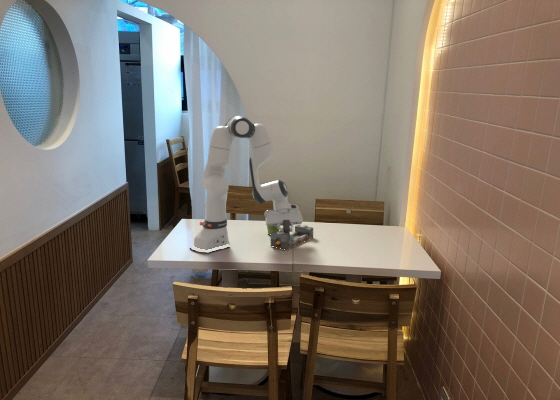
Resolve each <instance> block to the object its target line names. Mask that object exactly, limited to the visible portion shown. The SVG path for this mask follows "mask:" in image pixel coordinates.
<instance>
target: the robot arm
mask: <svg viewBox="0 0 560 400" xmlns="http://www.w3.org/2000/svg"><path fill="white" fill-rule="evenodd" d="M235 138H239V139H247V140H248V141H249V143H250V146H251V152H252V154H251V156H250V157H249V159H248V161H249V163H248V164H249V173H250V179H251V188H252V197H253V200H254V202H256V203H258V204H260V205H261V204H265V203H267V202H270V201H271V202H273V205H272V206H273V209H271V210H270V209H267V210H265V211H263V212H264V213H263V214H264V217H265V220H266V221H265V225H266V227H267V226H277V228H278V229H279V231H283V220H290V233H293V227H294V226H297V225H302V223H303V220H304V219H303V215H302V212H301V211H300V210H299V205H296V204H292V203H290V202H289V200H288V199H289V198H288V195H289V193H288V187H287V184H286V183H285V182H284V181H282V180H281V179H276V180H273V181H270V182H266V183H264V184H260V178H259V168H260V167H261V166H262V165H264V164H265V163H266V162H267V161H268V160H270V158H271V157H272V156H273V154H274V146H273V143H272V140H271V137H270V134H269V132H268V129H267V128H266V126H265V125H264V124H263V123H254V124H253V122H252V121H250V120H249V119H248V118H247V117H246V116H243V115H233V116H232V117H230V118H229V120H228V121H227V122H226V123H225V125H219V126H216V127H215V128H213V131H212V134H211V137H210V143H209V148H208V155H207V161H206V165H205V168H204V172H203V176H202V178H201V184H202V187H203V188H204V189H205V191H206V196H205V197H206V200H205V204H204V210H205V211H204V215H205V216H204V217H205V219H204V220H203V221H199V226H202V228H201V229H200V230H199V232H197V234H196V235H195V236H194V238H193V239H194V240H193V245H194V246H195V247H197V248H200V249H205V250H208V249H212V248H215V247H219V246H223V245H226V244H229V243H230V240H229V234H228V228H227V226H228V219H227V198H228V191H229V183H228V180H227V179H226V178H225V173H226V170H227V167H228V166H229V163H230V157H231V150H232V143H233V140H234V139H235Z"/></svg>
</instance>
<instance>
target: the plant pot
mask: <svg viewBox="0 0 560 400" xmlns="http://www.w3.org/2000/svg"><path fill="white" fill-rule="evenodd" d="M265 222H266V219H265ZM266 227H267V235H268V234H271V232H273V231H280V230H279V229H278V228H277V226H267V225H266Z"/></svg>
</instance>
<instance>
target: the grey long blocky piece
mask: <svg viewBox="0 0 560 400" xmlns="http://www.w3.org/2000/svg"><path fill="white" fill-rule="evenodd" d="M290 236H293V240H292V241H290ZM311 238H312V239H313V238H314V227H310V226H308V225H307V224H297V225H294V232H291V233H290V234H287V233H284V232H283V231H280V230H279V231H273V232H271V235H270V247H271V246H274V247H277V248H281V249H285V250H286V251H288V250H290V249H289V248H291V247H293V246H295V245H297V246H299V245H301V244H302V242H303V243H305V242H307V241H309V239H310V240H312V239H311ZM279 240H281V244H279V245H277V244H276V242H277V241H279ZM304 241H305V242H304ZM300 243H301V244H300ZM298 244H299V245H298ZM295 247H296V246H295ZM277 248H276V249H277ZM293 248H294V247H293ZM281 249H280V250H281ZM287 249H288V250H287ZM291 249H292V248H291ZM285 250H284V251H285Z"/></svg>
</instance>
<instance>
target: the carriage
mask: <svg viewBox="0 0 560 400" xmlns="http://www.w3.org/2000/svg"><path fill="white" fill-rule="evenodd" d="M282 228H283V232H284V233H287V234H291V232H290V228H291V226H290V220H283V225H282ZM292 240H293V236H290V241H292Z"/></svg>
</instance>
